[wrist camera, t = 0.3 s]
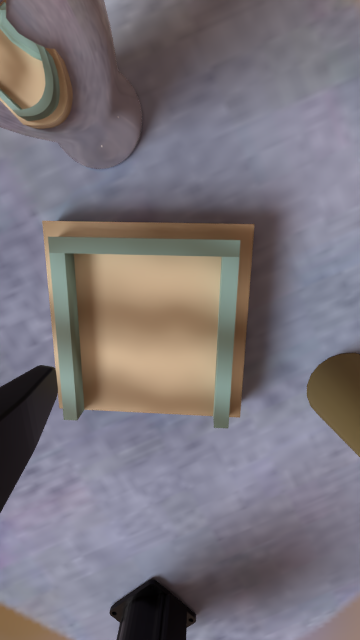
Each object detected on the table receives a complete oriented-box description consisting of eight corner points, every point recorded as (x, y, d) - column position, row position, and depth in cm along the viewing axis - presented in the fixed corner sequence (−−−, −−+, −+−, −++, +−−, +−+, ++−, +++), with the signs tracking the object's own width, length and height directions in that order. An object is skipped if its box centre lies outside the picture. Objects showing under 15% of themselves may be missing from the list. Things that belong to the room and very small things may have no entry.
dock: (236, 403, 26) (242, 429, 22) (69, 395, 27) (50, 418, 23) (249, 225, 22) (258, 223, 19) (55, 222, 23) (30, 219, 20)
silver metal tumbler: (37, 155, 22) (-282, -1, 7) (61, 41, 20) (-299, -457, 6) (131, 191, 22) (0, 106, 8) (163, 81, 20) (71, -302, 6)
